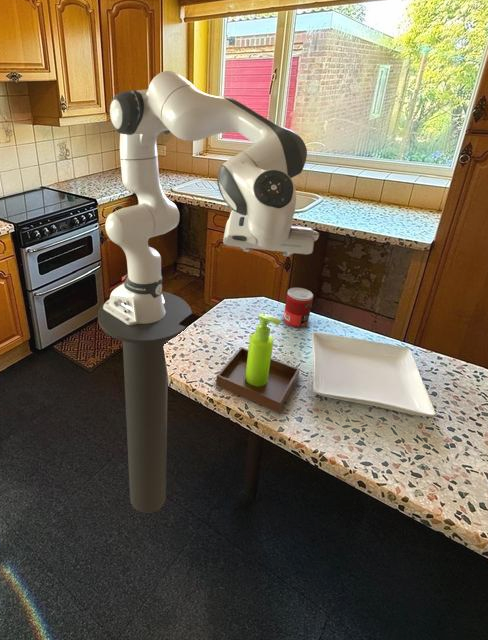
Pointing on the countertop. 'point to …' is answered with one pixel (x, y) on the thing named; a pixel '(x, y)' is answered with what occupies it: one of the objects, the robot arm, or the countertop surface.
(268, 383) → the tray
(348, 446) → the countertop surface
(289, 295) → the canned food
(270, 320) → the soap dispenser
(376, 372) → the square plate
